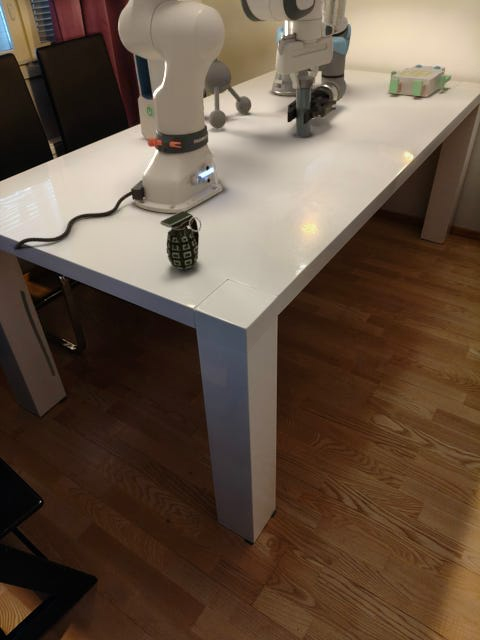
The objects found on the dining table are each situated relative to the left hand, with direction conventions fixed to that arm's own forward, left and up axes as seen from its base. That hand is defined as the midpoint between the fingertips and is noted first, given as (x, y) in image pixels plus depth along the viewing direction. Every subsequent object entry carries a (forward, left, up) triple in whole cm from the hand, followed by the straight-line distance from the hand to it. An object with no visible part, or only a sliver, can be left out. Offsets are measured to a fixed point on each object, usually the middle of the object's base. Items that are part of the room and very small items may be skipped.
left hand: (304, 86), depth 141 cm
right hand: (-5, 0, -8) cm, 9 cm away
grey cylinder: (0, 0, -14) cm, 14 cm away
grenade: (-80, -6, -14) cm, 81 cm away
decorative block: (+63, -23, -14) cm, 68 cm away
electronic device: (-16, +40, -14) cm, 46 cm away
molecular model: (+9, +31, -14) cm, 35 cm away
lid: (0, 0, +2) cm, 2 cm away
